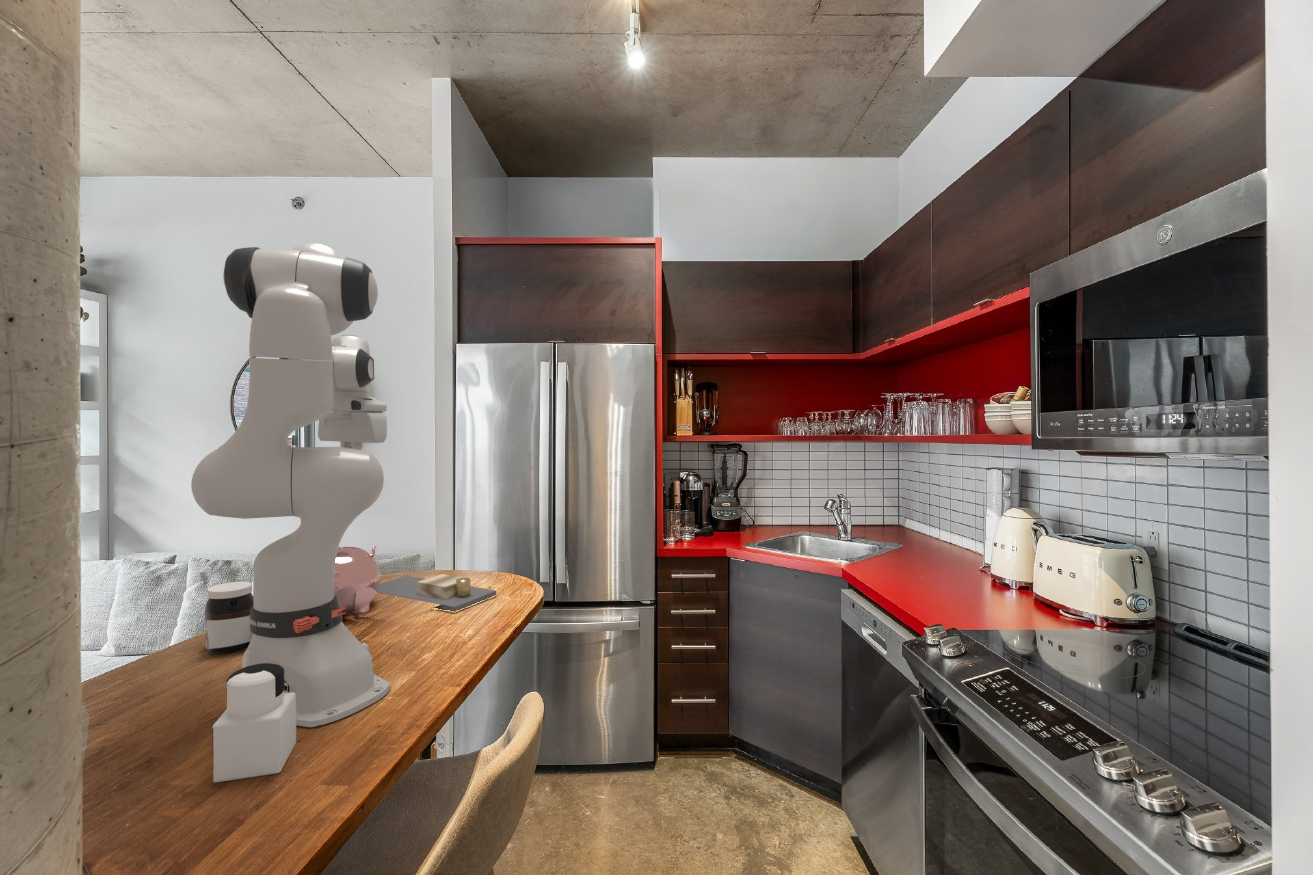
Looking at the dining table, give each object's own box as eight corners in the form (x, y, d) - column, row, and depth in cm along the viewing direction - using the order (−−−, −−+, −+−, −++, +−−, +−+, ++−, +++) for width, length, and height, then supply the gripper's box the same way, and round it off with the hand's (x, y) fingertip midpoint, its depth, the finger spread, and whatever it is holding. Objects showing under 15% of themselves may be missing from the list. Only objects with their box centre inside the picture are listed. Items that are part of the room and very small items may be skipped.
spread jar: (203, 644, 112) (202, 584, 112) (272, 630, 120) (272, 574, 119) (208, 664, 103) (208, 599, 103) (283, 648, 111) (283, 587, 110)
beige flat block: (469, 590, 144) (469, 578, 144) (445, 599, 137) (445, 586, 136) (442, 585, 148) (442, 574, 147) (417, 594, 140) (416, 581, 140)
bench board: (496, 596, 144) (496, 590, 144) (454, 613, 131) (454, 606, 131) (407, 581, 157) (407, 575, 157) (361, 595, 144) (361, 589, 144)
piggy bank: (285, 613, 130) (285, 542, 130) (374, 600, 140) (374, 534, 140) (287, 635, 117) (286, 556, 117) (385, 619, 127) (385, 546, 127)
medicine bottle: (234, 751, 77) (233, 661, 76) (296, 743, 79) (296, 655, 78) (211, 784, 70) (210, 685, 70) (280, 773, 72) (279, 677, 72)
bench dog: (473, 595, 140) (473, 578, 140) (463, 598, 137) (463, 581, 137) (462, 593, 141) (462, 576, 141) (453, 596, 139) (453, 580, 138)
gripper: (310, 403, 144) (311, 459, 144) (369, 403, 135) (369, 463, 136) (334, 404, 150) (334, 458, 150) (391, 404, 141) (391, 461, 141)
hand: (351, 460), depth 143 cm, fingers closed
